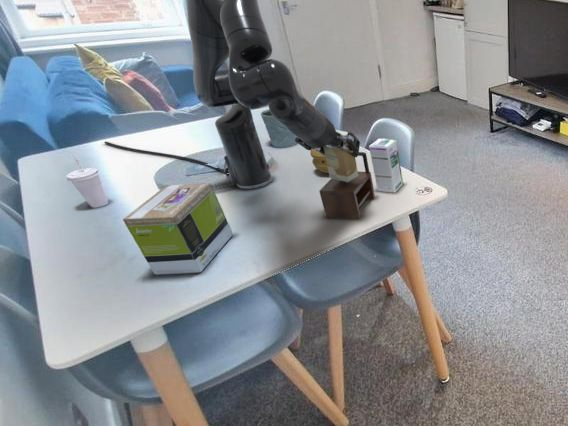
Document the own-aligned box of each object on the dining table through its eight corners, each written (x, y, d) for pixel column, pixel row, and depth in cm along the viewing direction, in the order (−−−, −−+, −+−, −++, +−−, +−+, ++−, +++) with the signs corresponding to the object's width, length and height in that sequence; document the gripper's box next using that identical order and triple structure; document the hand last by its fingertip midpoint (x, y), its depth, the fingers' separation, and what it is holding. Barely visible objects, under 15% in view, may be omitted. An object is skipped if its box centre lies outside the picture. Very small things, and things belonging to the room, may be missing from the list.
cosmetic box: (329, 178, 111) (318, 134, 105) (340, 172, 115) (331, 128, 108) (348, 182, 109) (339, 137, 103) (360, 176, 113) (351, 131, 106)
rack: (326, 217, 112) (313, 169, 105) (344, 195, 122) (334, 150, 115) (359, 219, 111) (348, 170, 104) (375, 197, 122) (366, 151, 114)
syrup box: (395, 193, 124) (388, 146, 116) (376, 191, 125) (368, 144, 117) (403, 184, 128) (397, 139, 121) (385, 182, 129) (377, 137, 122)
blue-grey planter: (270, 150, 151) (260, 117, 145) (269, 140, 159) (260, 109, 153) (301, 145, 155) (292, 113, 149) (299, 136, 163) (291, 105, 157)
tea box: (191, 237, 104) (166, 183, 96) (234, 235, 105) (213, 181, 97) (152, 276, 91) (119, 217, 83) (201, 273, 92) (173, 215, 84)
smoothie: (120, 200, 119) (95, 154, 112) (94, 211, 114) (66, 164, 107) (104, 197, 121) (79, 151, 114) (78, 208, 116) (50, 160, 109)
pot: (328, 181, 130) (321, 150, 125) (307, 171, 136) (299, 141, 131) (361, 168, 138) (355, 139, 133) (340, 159, 144) (333, 131, 139)
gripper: (343, 110, 94) (371, 140, 110) (281, 108, 95) (317, 139, 111) (338, 141, 92) (367, 168, 108) (275, 139, 93) (312, 166, 109)
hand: (341, 153), depth 110 cm, fingers closed on cosmetic box, 7 cm apart
